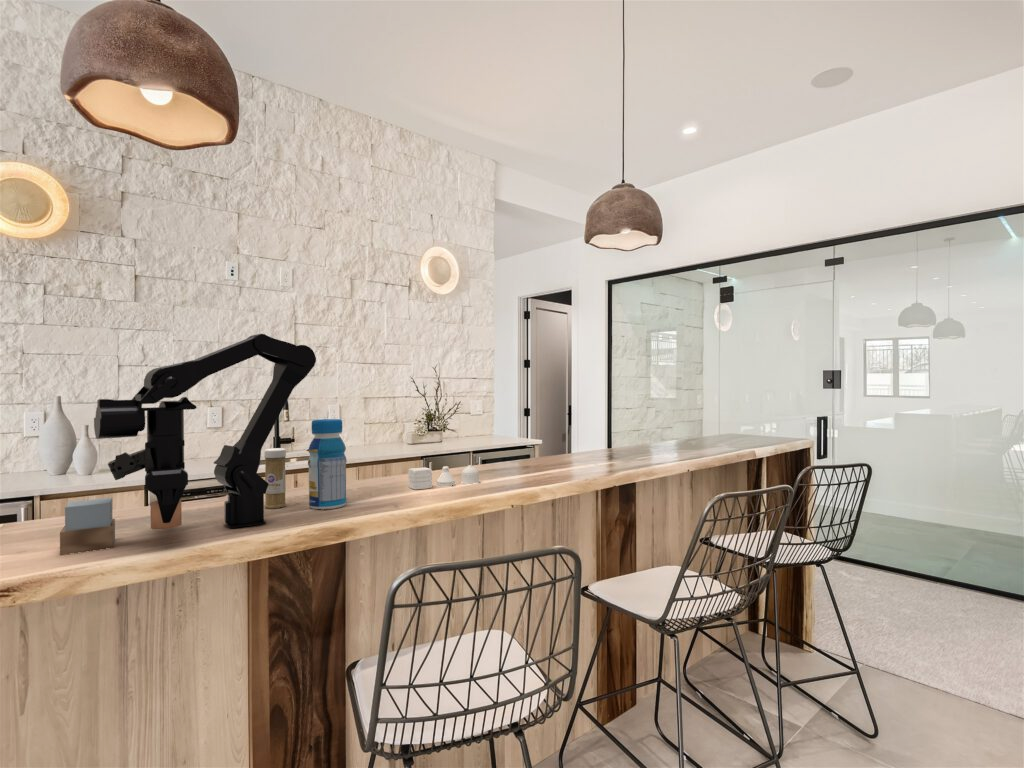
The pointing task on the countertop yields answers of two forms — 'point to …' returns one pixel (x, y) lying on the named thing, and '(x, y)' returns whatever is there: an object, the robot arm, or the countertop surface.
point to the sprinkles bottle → (275, 477)
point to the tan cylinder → (157, 519)
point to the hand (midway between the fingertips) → (166, 520)
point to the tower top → (88, 514)
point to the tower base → (87, 539)
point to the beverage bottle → (327, 465)
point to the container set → (422, 477)
